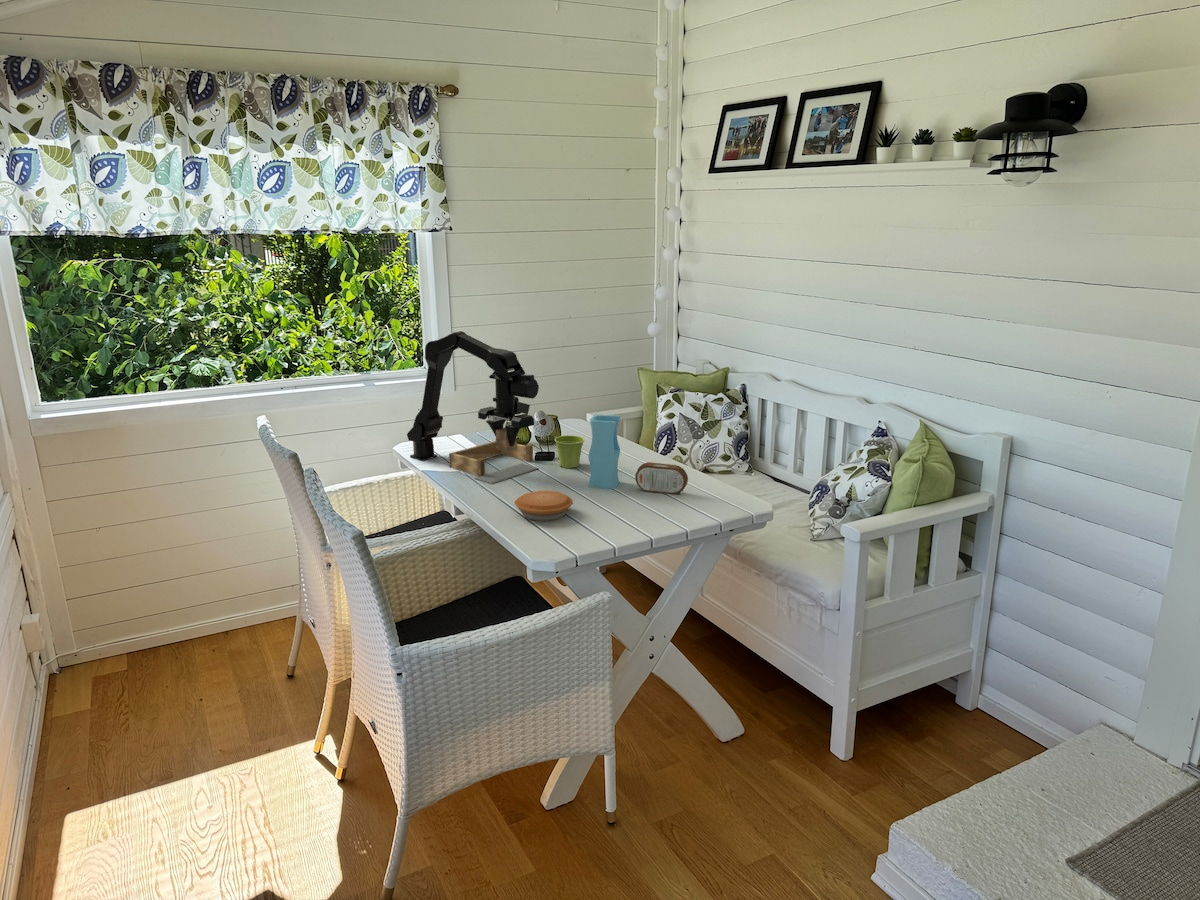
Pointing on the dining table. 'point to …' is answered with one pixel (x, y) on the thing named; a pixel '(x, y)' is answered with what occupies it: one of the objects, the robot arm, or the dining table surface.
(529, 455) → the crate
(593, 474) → the wavy blue tube
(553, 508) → the pie
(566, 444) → the plant pot
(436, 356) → the robot arm
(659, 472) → the tin
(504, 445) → the block
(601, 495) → the dining table surface
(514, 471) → the mat
